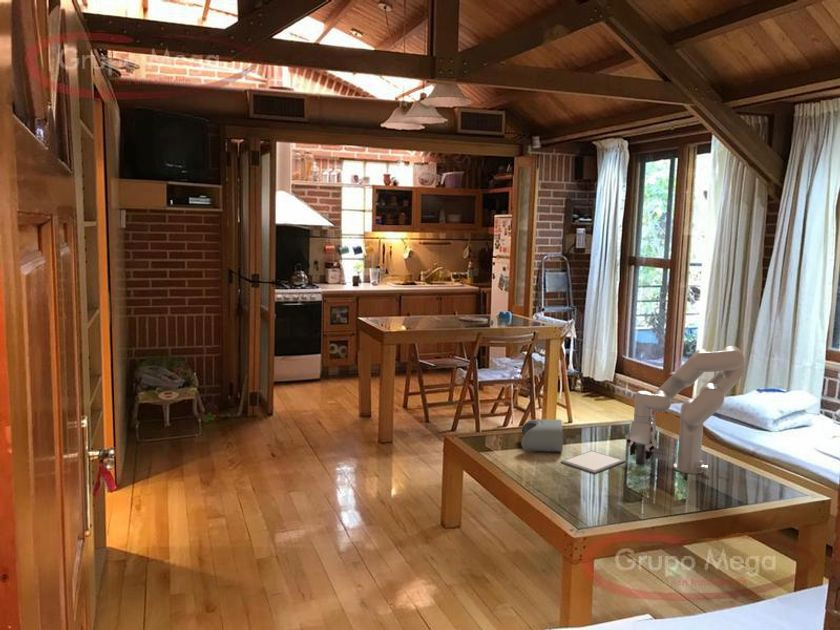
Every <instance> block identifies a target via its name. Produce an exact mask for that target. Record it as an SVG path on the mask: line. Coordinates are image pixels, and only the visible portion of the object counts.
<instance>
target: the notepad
mask: <svg viewBox="0 0 840 630" xmlns="http://www.w3.org/2000/svg"><path fill="white" fill-rule="evenodd" d="M623 463H626V460H625V459H621V458H618V457H615V456H612V455H608V454H606V453H605V454H604V453H602V452H599V451H595V450H589V451H585V452H583V453H580V454H578V455H574V456H572V457H569V458H566V459H562V460H560V464H564V465H566V466H570V467H572V468H576V469H579V470H582V471H585V472H587V473H590V472H591V473H590V474H593V473H594V475H595V473H596V474H598V473H601V472H604V471H606V470H608V469H612V468H613V467H616V466H619V465H621V464H623Z"/></svg>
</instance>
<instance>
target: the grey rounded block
mask: <svg viewBox="0 0 840 630" xmlns="http://www.w3.org/2000/svg"><path fill="white" fill-rule="evenodd" d="M521 433H522V435H523V437H522V439H521V442H520V443H521V447H522V448H523V450H525V451H528V452H534V451H536V452H563V447H564V446H563V443H564V441H563V440H564V436H563V435H564V434H563V423H562V419H530V420H527V421H526V422H525V423H524V424H523V426H522V428H521Z"/></svg>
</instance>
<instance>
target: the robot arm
mask: <svg viewBox="0 0 840 630" xmlns="http://www.w3.org/2000/svg"><path fill="white" fill-rule="evenodd" d="M744 369H745V357H744V354H743V352H742V350H741V349H740V348H738V347H737V346H735V345H729V346H726V347H725V348H723V349H722V350H719V351H710V350H708V349H705V348H700V349H698V350H696V351H694V353H692V355H691V356H690V357H689V358H688V359H687V360H686V361H685V362H684V363H683V364H682V365H681V366H680V367H679V368H678V369H677V370H676V371H675V372H674V373H673V374H672V375H671V376H670V377H669V378H668V379H666V381H664V383H663V384H661V386H660V387H659V388H657V390H656V391H655V392H654V393H652V392H651V391H649V390H639V391H636V392H635V393H634V394H635V395H634V409H633V411H634V412H633V413H634V414H633V419H632V421H631V424H630V430H629V432H628V433H627V434H625V435H624V438H625V439H626V442H627V443H628V446H629V455H631V456H633V455H636V448H637V446H636V445H635V443H640V444H643V445H645V446H646V448H647V451H646V452H645V457H644V460H646V461H647V460H650V459H651V458H652V452H651V450H653V449H654V450H655V448H656V447H658V446H659V443H658V442H657V440H656V439H654V426H653V423H652V421H654V419H653V418H652V409H654V410H657V412H666V411H668V410H669V409H670V408H671V405H672V402H671V401H672V400H673V399H674V398H675V397H676V396H677V395H678V394H679V393H680V392H682V391H683V389H686V388H688V387H690V386H692V385H694V384H695V382H697V380H698V379H699V378H700V377H701V376H702V375H703V374H704V373H713V372H717V373H715V374H714V376H713V377H711V378H710V380H708V381H707V382H706V383H705V384H704V385H702V386H701V388H700V389H699V395H697V397H695V398H691V399H690V398H689V399H686V400H685V401H684V402H683V403H682V404H681V406H680V414H679V415H680V416H679V417H680V418H679V420H680V421H679V431H678V444H677V445H678V446H677V448H678V449H677V461H676V462H675V463H673V464H672V465H673V467H672V468H673V469H674V470H676V471H677V472H680V473H682V474H687V475H688V474H689V475H699V474H698V473H700V474H702V473H704V472H709V465H707V464H706V465H705V464H703V463H704V462H703V460H702V459H701V458H702V447H703V433H704V423H705V422H706V421H707V420H708V419H710V418H711V417H712V416H714V414H715V413H716V412H717V411H718V410H720V408H721V407H722V406H723V404H724V401H725V395H727V394H728V392H730V391H731V390H732V388H734V387H735V385H736V384H737V383H739V381H740V379H742V376H743V373H744ZM652 443H653V446H652V445H651V444H652Z"/></svg>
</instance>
